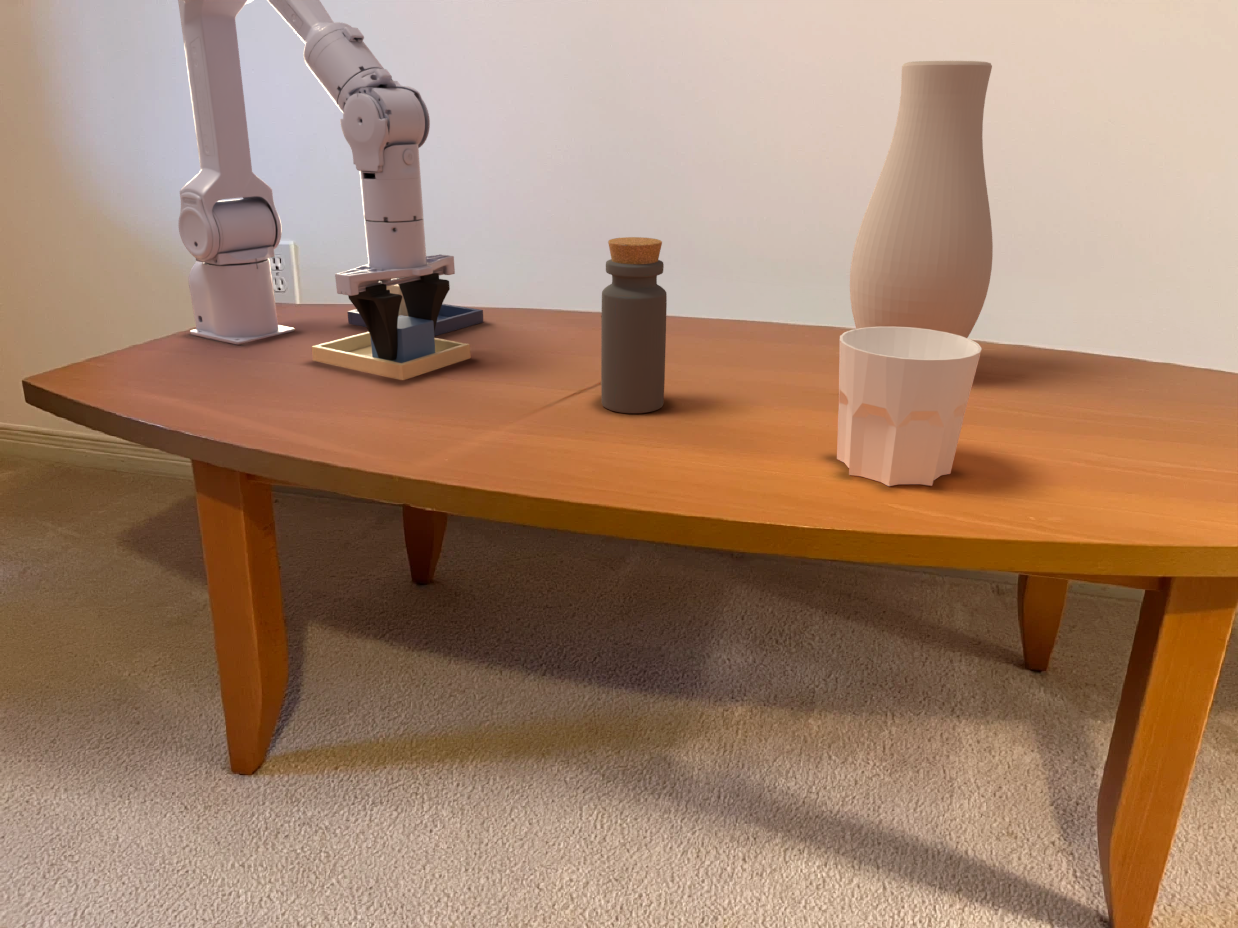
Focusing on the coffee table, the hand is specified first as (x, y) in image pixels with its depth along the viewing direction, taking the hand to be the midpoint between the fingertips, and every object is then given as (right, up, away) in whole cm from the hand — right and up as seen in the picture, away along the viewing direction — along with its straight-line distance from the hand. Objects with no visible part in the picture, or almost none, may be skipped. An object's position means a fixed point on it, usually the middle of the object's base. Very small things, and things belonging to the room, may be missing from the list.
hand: (405, 353), depth 94 cm
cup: (+44, -12, -23) cm, 51 cm away
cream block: (-5, +7, +21) cm, 23 cm away
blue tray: (-3, +6, +19) cm, 20 cm away
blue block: (0, -1, +1) cm, 1 cm away
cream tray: (-2, -1, +3) cm, 4 cm away
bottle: (+24, -6, -10) cm, 26 cm away
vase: (+53, -1, +3) cm, 53 cm away
